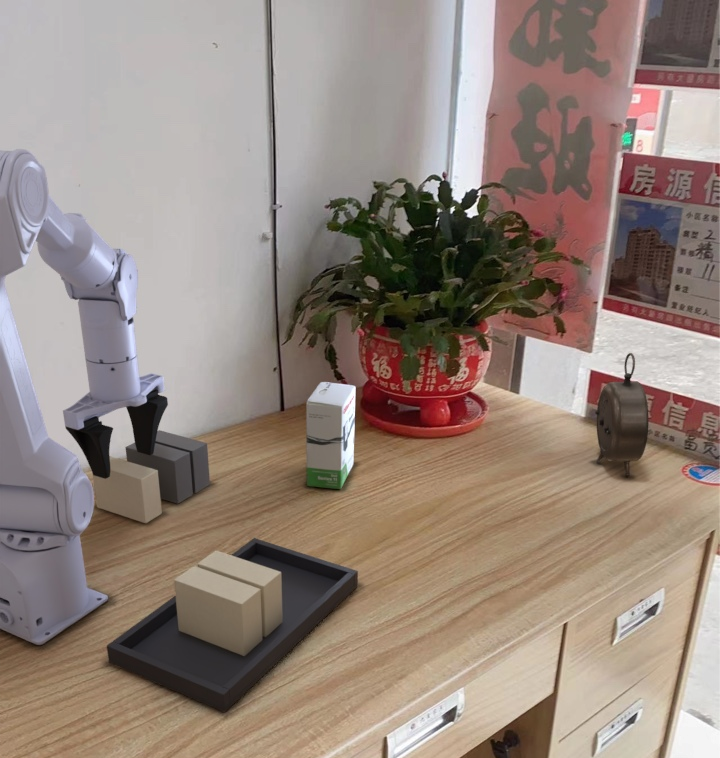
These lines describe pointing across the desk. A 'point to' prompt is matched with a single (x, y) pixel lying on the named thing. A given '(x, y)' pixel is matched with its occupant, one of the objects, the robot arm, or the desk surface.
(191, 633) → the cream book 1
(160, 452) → the gray rectangular block
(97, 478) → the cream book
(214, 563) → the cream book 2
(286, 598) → the tray
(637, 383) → the alarm clock
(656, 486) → the desk surface
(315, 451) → the ink box
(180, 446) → the gray rectangular block
